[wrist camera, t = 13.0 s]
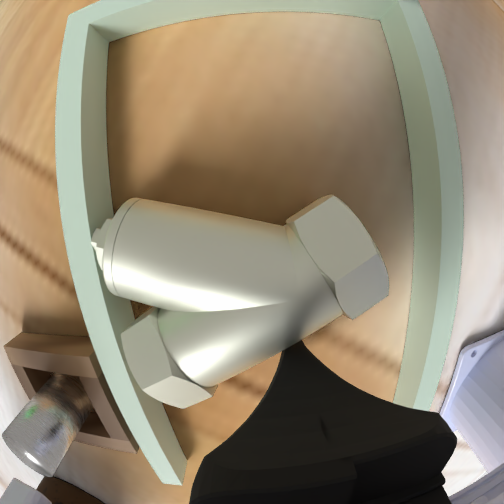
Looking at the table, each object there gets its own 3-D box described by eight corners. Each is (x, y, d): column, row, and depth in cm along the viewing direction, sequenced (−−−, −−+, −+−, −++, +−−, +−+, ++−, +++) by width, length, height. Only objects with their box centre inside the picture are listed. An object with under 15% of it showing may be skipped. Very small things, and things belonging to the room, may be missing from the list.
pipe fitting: (105, 239, 11) (196, 369, 11) (45, 254, 7) (173, 427, 8) (267, 122, 10) (361, 271, 11) (269, 78, 6) (406, 302, 7)
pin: (87, 366, 12) (29, 443, 6) (106, 406, 12) (64, 483, 6) (51, 362, 12) (-8, 425, 6) (69, 400, 12) (24, 466, 6)
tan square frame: (106, 337, 11) (88, 356, 10) (145, 431, 13) (136, 453, 11) (21, 332, 11) (3, 346, 10) (62, 417, 13) (50, 433, 11)
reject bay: (394, 7, 8) (412, -12, 6) (399, 432, 13) (411, 453, 11) (89, 32, 8) (68, 14, 6) (168, 459, 13) (162, 483, 11)
